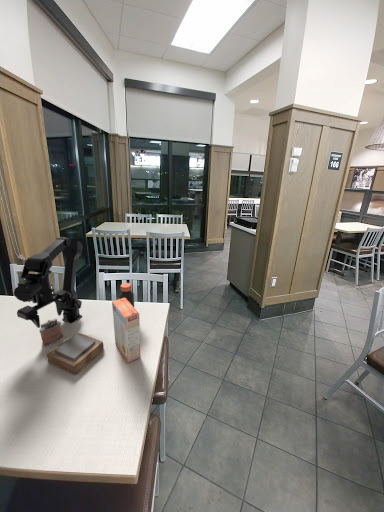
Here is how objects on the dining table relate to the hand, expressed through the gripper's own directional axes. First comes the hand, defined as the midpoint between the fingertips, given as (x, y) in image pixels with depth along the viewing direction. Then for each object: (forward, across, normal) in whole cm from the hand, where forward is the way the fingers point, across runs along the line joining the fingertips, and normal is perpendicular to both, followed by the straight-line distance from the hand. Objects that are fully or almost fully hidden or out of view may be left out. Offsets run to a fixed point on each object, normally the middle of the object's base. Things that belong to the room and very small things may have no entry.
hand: (49, 321), depth 93 cm
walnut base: (+10, +2, +16) cm, 19 cm away
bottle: (+10, -25, +20) cm, 34 cm away
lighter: (+10, 0, 0) cm, 10 cm away
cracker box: (+10, -9, +32) cm, 35 cm away
